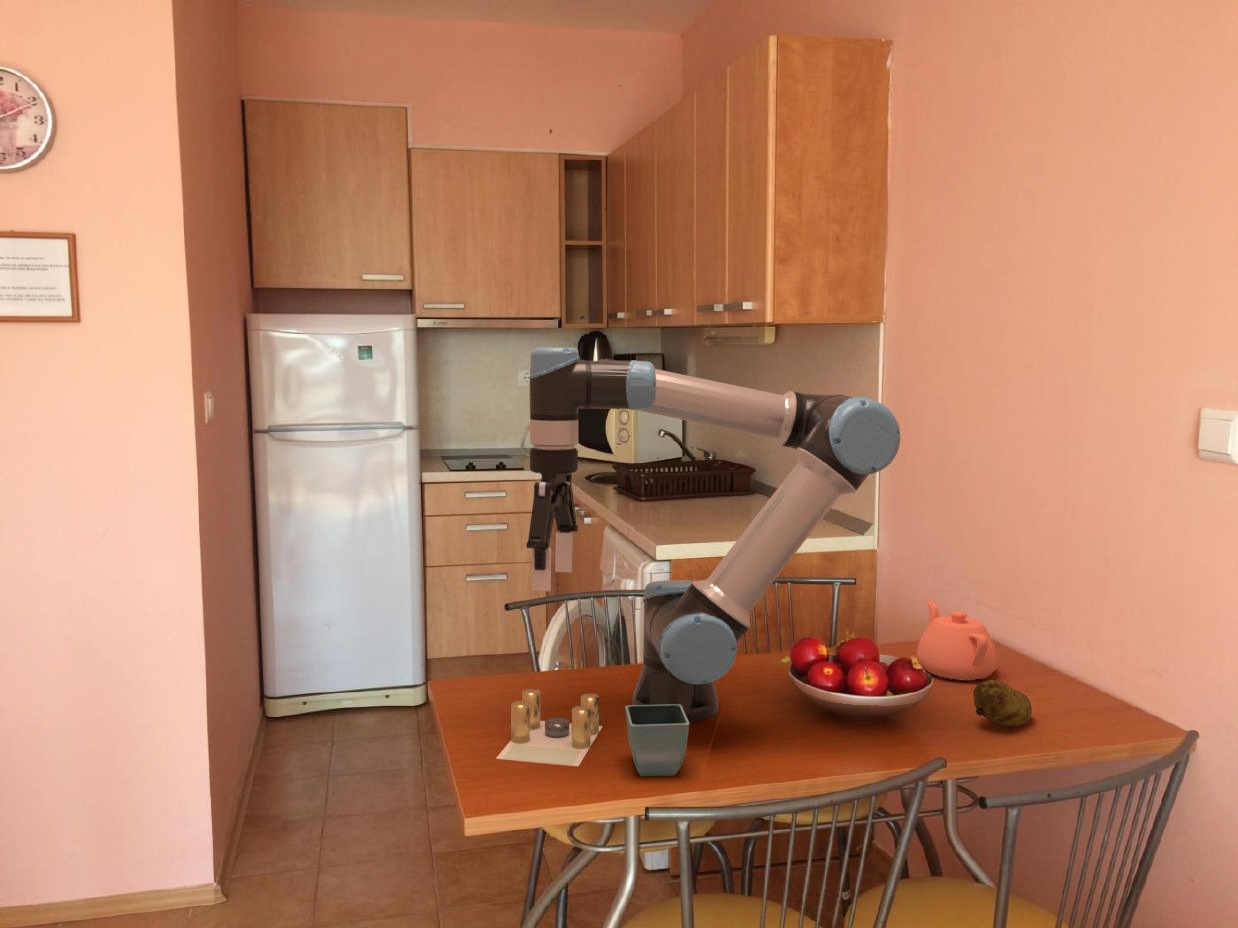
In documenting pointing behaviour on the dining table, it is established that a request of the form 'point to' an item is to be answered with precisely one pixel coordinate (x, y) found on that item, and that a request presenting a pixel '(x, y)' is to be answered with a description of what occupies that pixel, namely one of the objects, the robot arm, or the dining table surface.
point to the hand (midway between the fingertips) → (553, 580)
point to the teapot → (956, 646)
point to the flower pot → (657, 738)
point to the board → (546, 749)
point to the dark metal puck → (557, 727)
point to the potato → (1001, 703)
